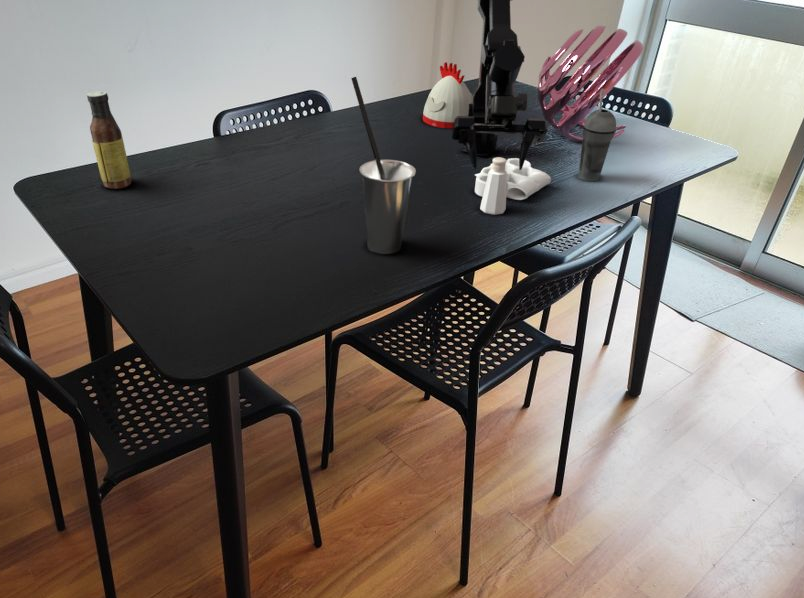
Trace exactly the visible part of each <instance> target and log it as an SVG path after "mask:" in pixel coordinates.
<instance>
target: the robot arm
mask: <svg viewBox="0 0 804 598" xmlns="http://www.w3.org/2000/svg"><path fill="white" fill-rule="evenodd" d="M511 1H513V0H477V11H478V13H479V15H480V17H481V19H482V32H481V33H482V34H481V45H480V59H479V74H478V86H477V88H476V89H475V91H474V93H472V97H471V104H468V107H467V111H466V116H457V117H456V118H455V120H454V124H453V128H452V129H451V130H452V132H451V139H452V140H453V141H457V143H458V144H459V145H461V144H462V145H463V147H464V149H463V150H462V153H465V154H467V155H468V157H469V160H470V161H471V164H472V166H473V169H475V170H476V169H477V167H478V157H482V158H488V157H489V156H490V155H492V154H494V153H495V152H496V151H497V145H498V143H497V142H498V137H499V136H498V135H520V136H522V140H521V143H520V150H519V158H518V159H519V170H521V169H522V167H523V164H524V161H525V160H526V159H527V156H528V152H529V150H530V148H531V147H535V146H536V145H537V144H540V143H542V142H543V140H544V138H545V136H546V135H547V132H548V121H547V120H546V119H545V118H531V117H530V118H527V119H526V121H525V123H524V124H517V123H516V124H514V122H515V121H516V119H517V114H518V112H525V111H526V110H527V108H528V93H523V92H522V93H520V92H519V93H518V94H516V96H515V82H516V81H517V79H518V76H519V74H520V71H521V68H522V66H523V63H525V57H526V55H525V54H524V53H523V51H522V47H521V46H520V45H519V41H518V40H519V39H518V35H517V33H516V32H515V31H514V30H513V29H512V25H511V24H512V22H511V20H512V19H511Z"/></svg>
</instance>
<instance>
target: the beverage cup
mask: <svg viewBox="0 0 804 598" xmlns="http://www.w3.org/2000/svg"><path fill="white" fill-rule="evenodd" d="M603 99H604V98H603V89H601V95H600V102H599V104H598V105H599V106H598V107H599V108H598V109H595V110H593V111H591V112H590V113H589V114H588V115H587V116H586V118H585V119H586V120H585V123H584V125H583V126H582V138H583V142H581V150H580V152H581V153H580V159H579V168H578V178H579V179H580V180H582V181H586V182H597V181H598V180H599V178H600V176H601V173H602V170H603V168H604V164H605V162H606V159H607V155H608V151H609V149H610V145H611V142H612V141H613V139H614V138H613V137H614V134H615V133H617V131H616V127H617V120H616V117H615V115H614V114H613V113H612V112H611V111H610V110H608V109H604V108H603Z"/></svg>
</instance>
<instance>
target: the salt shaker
mask: <svg viewBox="0 0 804 598" xmlns="http://www.w3.org/2000/svg"><path fill="white" fill-rule="evenodd" d="M507 160H508V159H506V158H504V157H501V156H497V157H493V158H492V163H493V164H492V163H491V164H492V169H491V170H490V171H489V173H488V177H487V181H486V185H485V190H484V194H483V197H482V198H481V202H480V206H479V209H480V211H482V212H483V213H484V214H488V215H493V216H496V215H503V214H504V213H505V211H506V209H507V197H506V190H507V171H505V166H506V162H507Z"/></svg>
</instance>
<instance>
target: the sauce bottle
mask: <svg viewBox="0 0 804 598" xmlns="http://www.w3.org/2000/svg"><path fill="white" fill-rule="evenodd" d="M86 96H87V97H86V98H87V102H88V103H89V107H90V110H91V115H92V117H91V123H90V126H89V131H90V135H91V140H92V146H93V150H94V154H95V158H96V161H97V167H98V170H99V174H100V175H99V176H100V179H101V181H102V185H103V187H105V188H107V189H109V190H121V189H125V188H126V187H128V186H130V185H131V183H132V179H131V176H132V175H131V171H130V167H129V162H128V156H127V152H126V151H127V150H126V147H125V143H124V138H123V134H122V130H121V128H120V126H119V125H118V123H117V121H116V119H115V117H114V116H113V114H112V111H111V108H110V103H109V94H108V92H107V91H104V90H96V91H95V90H94V91H90V92H88V93H87V94H86Z"/></svg>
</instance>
